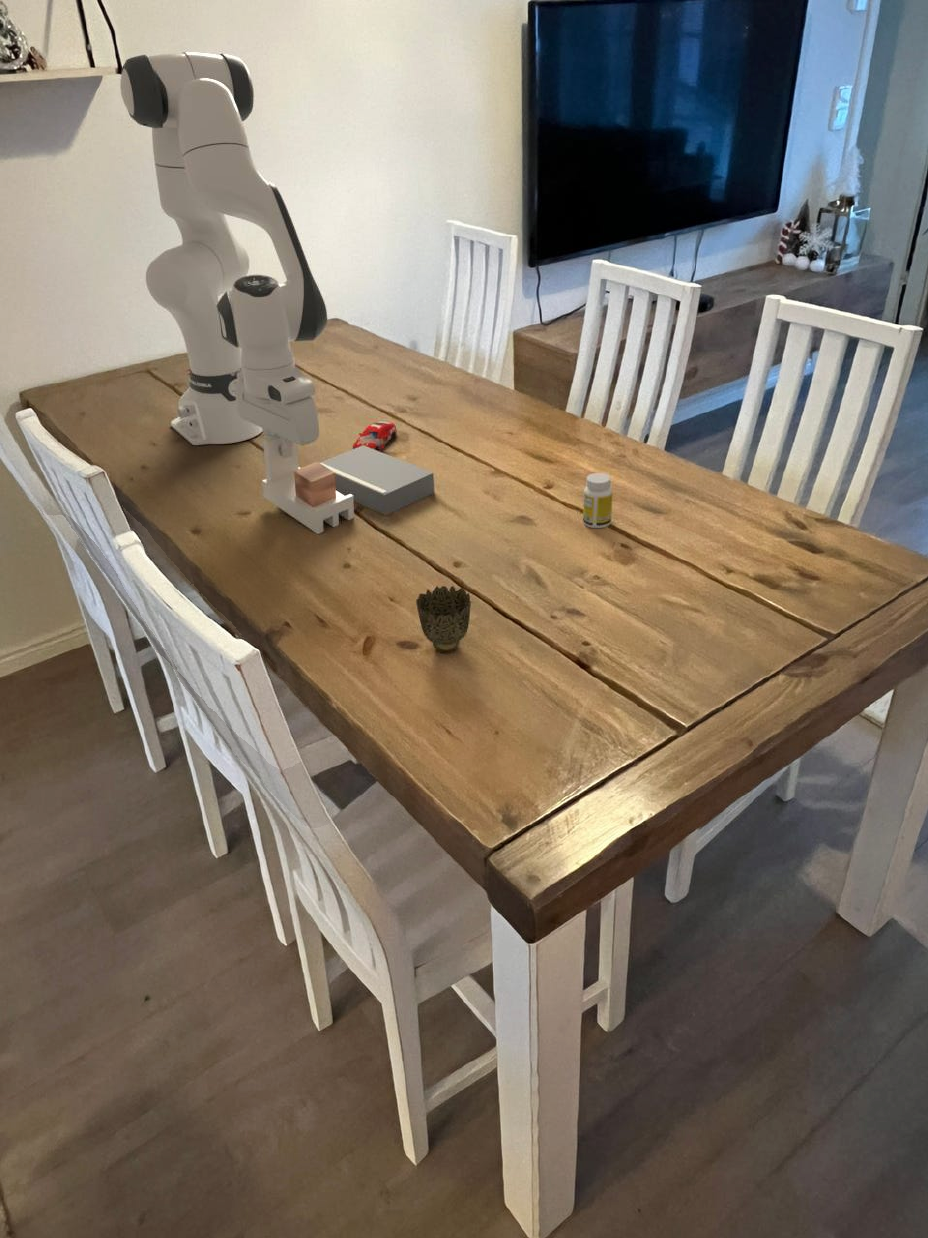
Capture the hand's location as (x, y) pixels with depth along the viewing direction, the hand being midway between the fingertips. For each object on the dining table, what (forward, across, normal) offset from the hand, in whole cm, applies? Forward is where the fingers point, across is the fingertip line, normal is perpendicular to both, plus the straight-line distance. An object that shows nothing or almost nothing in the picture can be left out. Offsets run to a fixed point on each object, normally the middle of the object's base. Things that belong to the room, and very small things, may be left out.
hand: (281, 453), depth 161 cm
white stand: (+8, +6, 0) cm, 11 cm away
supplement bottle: (+9, +48, +31) cm, 57 cm away
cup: (+9, +55, -12) cm, 57 cm away
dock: (+9, +8, +14) cm, 19 cm away
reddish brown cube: (+5, +9, 0) cm, 11 cm away
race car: (+10, -8, +28) cm, 31 cm away
